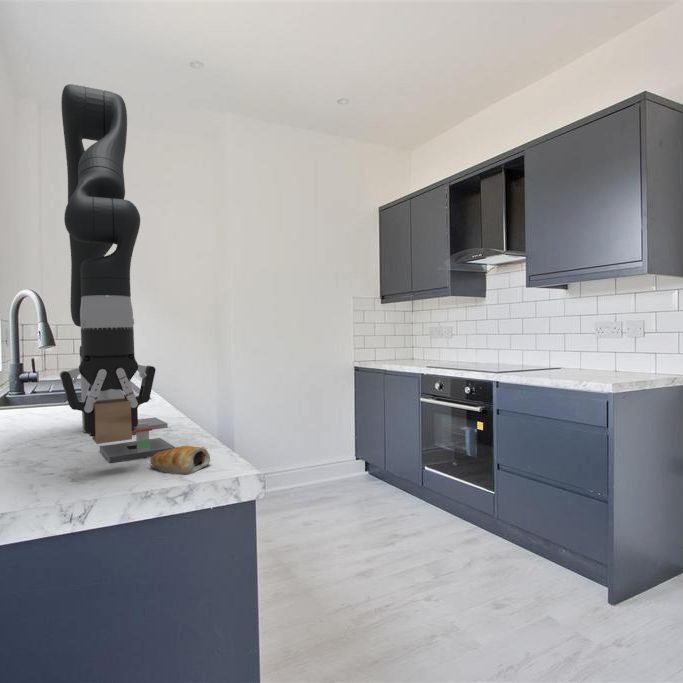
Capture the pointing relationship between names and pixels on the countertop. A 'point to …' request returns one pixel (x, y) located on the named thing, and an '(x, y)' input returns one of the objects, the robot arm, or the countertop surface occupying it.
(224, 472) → the countertop surface
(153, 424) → the pan
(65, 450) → the countertop surface
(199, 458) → the pastry
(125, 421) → the walnut block
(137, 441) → the base
